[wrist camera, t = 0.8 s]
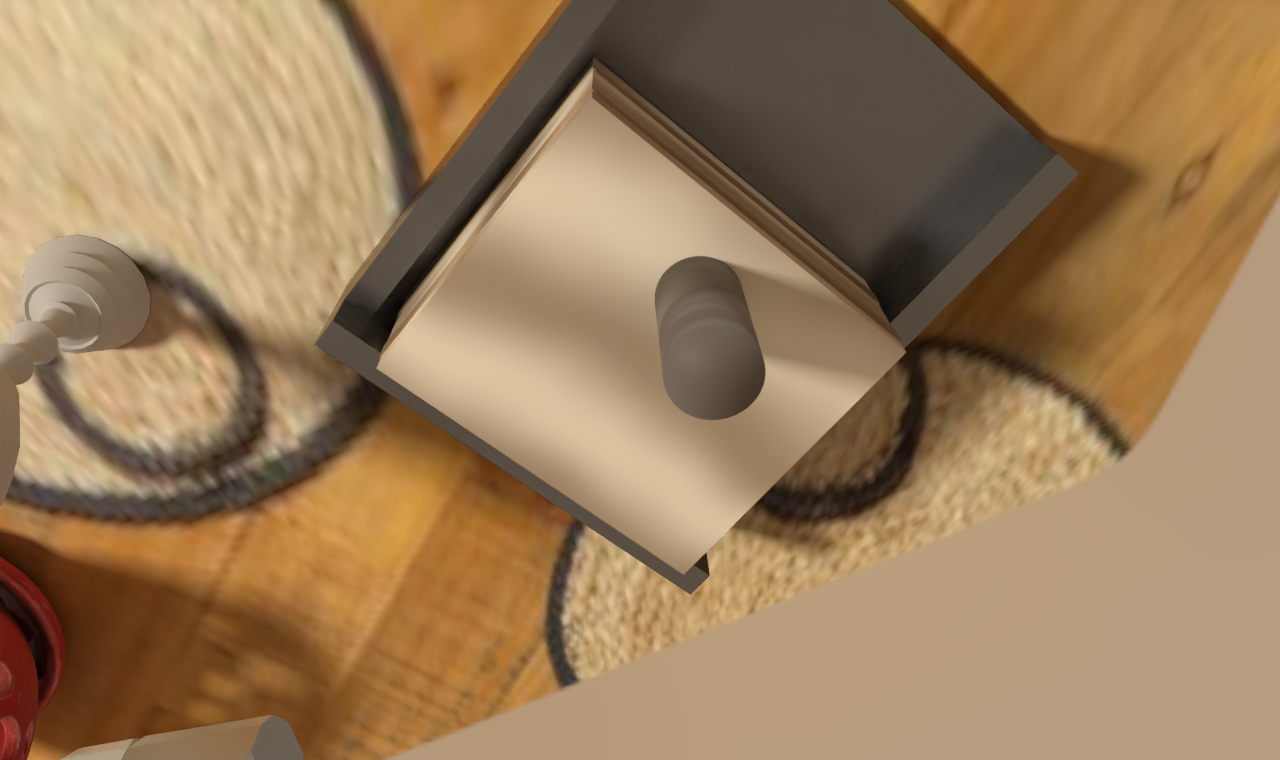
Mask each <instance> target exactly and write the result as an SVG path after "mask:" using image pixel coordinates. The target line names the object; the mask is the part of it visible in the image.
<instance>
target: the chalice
mask: <svg viewBox="0 0 1280 760" xmlns="http://www.w3.org/2000/svg"><path fill="white" fill-rule="evenodd" d="M21 311H22V313H23V316H24V319H25V321H23V322H21V323H19V324H17V325H16V326H15V327H14V328H13V329H12V331H11V334H10V344H0V506H1V505H2V503H3V502H4V499H5V496H6V494H7V491H8V489H9V486H10V484H11V481H12V478H13V473H14V469H15V465H16V461H17V456H18V452H19V448H20V416H19V393H18V390H17V388H16V385H18V384H22V383H24V382H26V381H28V380H29V379H30V377H31V376H32V374H33V371H34V369H33V364H37V365H40V364H46V363H48V362H50V361H52V360H53V359H54V357H55V356H56V355H57V352H58V350H61V351H64V352H71V353H85V352H92V351H100V350H108V349H115V348H118V347H120V346H122V345H124V344H126V343H128V342H131V341H132V340H133V339H134V338H135V337H136V336H137V335H138V334H139V333H140V332H141V331H142V330H143V329H144V326H145V324H146V321H147V319H148V317H149V314H150V293H149V290H148V287H147V284H146V281H145V278H144V276H143V275H142V273H141V272H140V271H139V269H138V268H137V266H136V265H135V264H134V262H133V261H132V260H131V259H130V258H129V257H127V256H126V255H125V254H124V253H123V252H121V251H120V250H119V249H118V248H116V247H115V246H112V245H110V244H108V243H106V242H104V241H102V240H99V239H97V238H92V237H86V236H80V235H71V236H64V237H57V238H55V239H53V240H51V241H49V242H47V243H45V244H43V245H41V246H40V247H39V248H38V249H37V250H36V251H35V252H34V253H33V254H32V256H31V257H30V258H29V259H28V262H27V265H26V268H25V271H24V274H23V285H22V294H21Z"/></svg>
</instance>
